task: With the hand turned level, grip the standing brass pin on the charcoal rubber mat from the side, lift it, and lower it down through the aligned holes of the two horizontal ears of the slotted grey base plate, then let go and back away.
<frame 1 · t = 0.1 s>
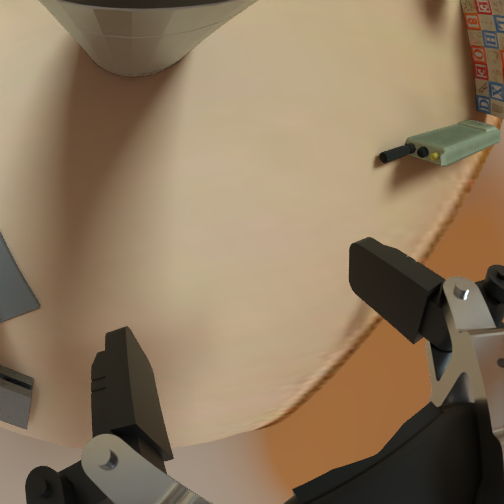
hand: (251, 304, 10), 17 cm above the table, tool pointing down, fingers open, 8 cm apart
stack of blocks: (476, 53, 29), on the table
handheld radio: (431, 136, 33), on the table
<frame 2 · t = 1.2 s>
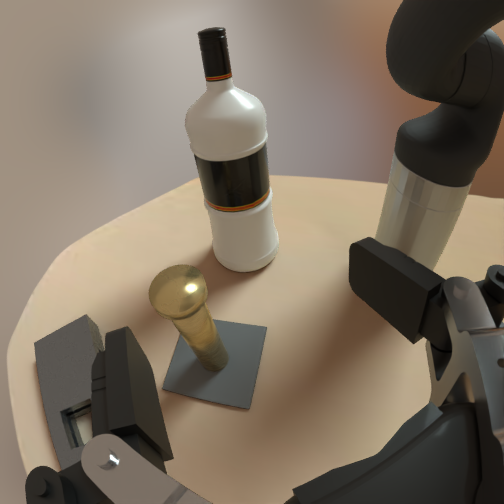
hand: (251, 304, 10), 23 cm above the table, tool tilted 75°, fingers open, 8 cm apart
rubber mat: (215, 360, 32), on the table
slotted grey base plate: (86, 401, 28), on the table
vodka: (247, 250, 43), on the table
brass pin: (214, 358, 31), resting on rubber mat
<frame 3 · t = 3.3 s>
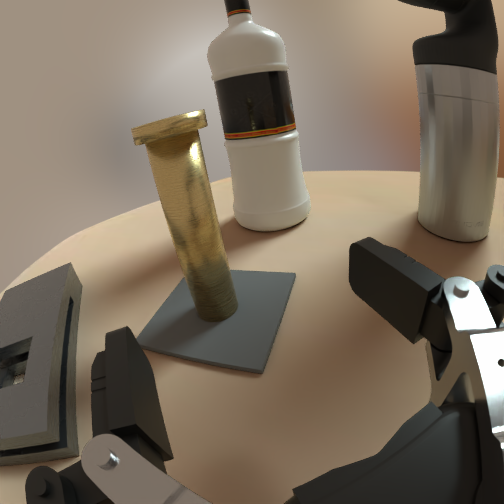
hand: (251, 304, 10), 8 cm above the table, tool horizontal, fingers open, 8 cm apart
rubber mat: (218, 311, 22), on the table
slotted grey base plate: (34, 358, 19), on the table
vodka: (273, 218, 36), on the table
brass pin: (217, 307, 22), resting on rubber mat
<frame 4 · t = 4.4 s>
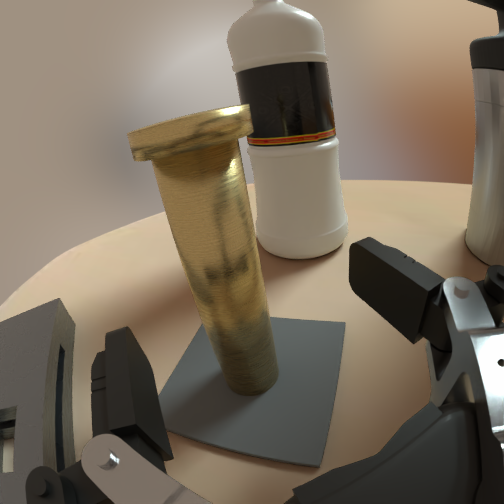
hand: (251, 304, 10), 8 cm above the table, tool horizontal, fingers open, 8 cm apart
rubber mat: (253, 377, 17), on the table
slotted grey base plate: (24, 420, 14), on the table
vodka: (303, 240, 30), on the table
brass pin: (252, 373, 16), resting on rubber mat
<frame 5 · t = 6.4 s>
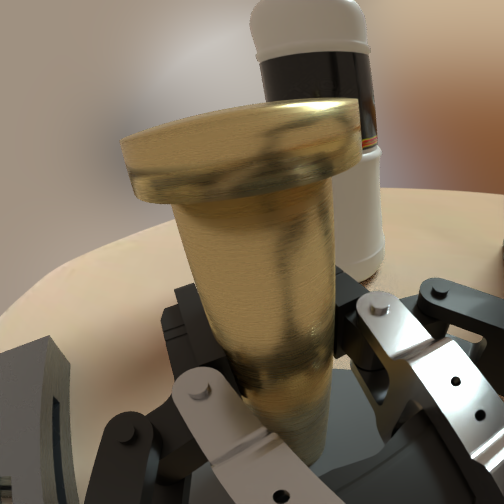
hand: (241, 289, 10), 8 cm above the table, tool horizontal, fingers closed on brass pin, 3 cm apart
rubber mat: (293, 445, 12), on the table
slotted grey base plate: (21, 479, 9), on the table
vodka: (333, 262, 26), on the table
brass pin: (292, 442, 12), resting on rubber mat, touching gripper
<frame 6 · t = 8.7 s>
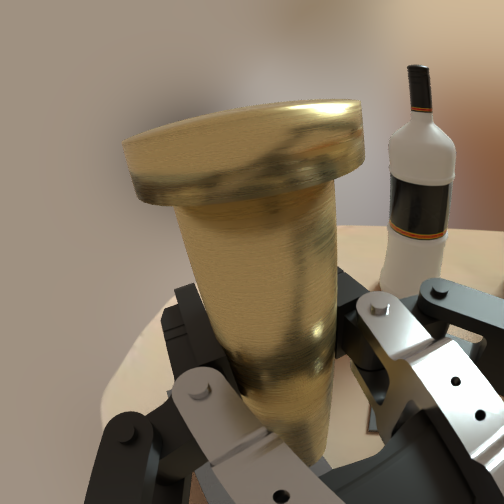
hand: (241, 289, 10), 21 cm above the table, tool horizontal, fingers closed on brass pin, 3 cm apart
slotted grey base plate: (255, 463, 22), on the table
vodka: (408, 290, 38), on the table
brass pin: (293, 443, 12), point 13 cm above the table, touching gripper
when the fingers open (9 cm above the table, at t = 12.2 s): brass pin stays where it is, resting in slotted grey base plate.
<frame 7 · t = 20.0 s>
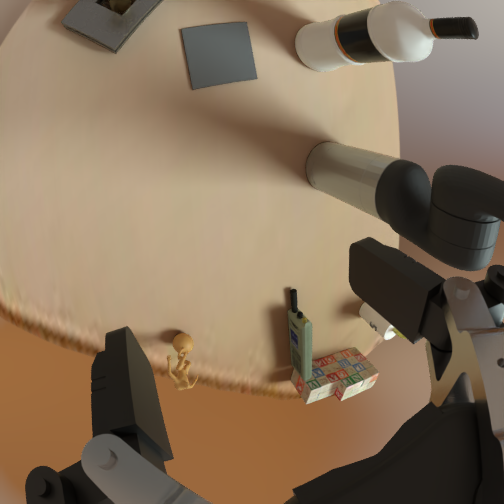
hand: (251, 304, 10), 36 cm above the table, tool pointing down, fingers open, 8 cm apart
rubber mat: (219, 53, 36), on the table
stack of blocks: (323, 362, 77), on the table
figurine: (177, 339, 54), on the table
handheld radio: (293, 329, 66), on the table
vodka: (315, 48, 40), on the table
brass pin: (120, 4, 26), resting in slotted grey base plate
candle: (367, 307, 74), on the table
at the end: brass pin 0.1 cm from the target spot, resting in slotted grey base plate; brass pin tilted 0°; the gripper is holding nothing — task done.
